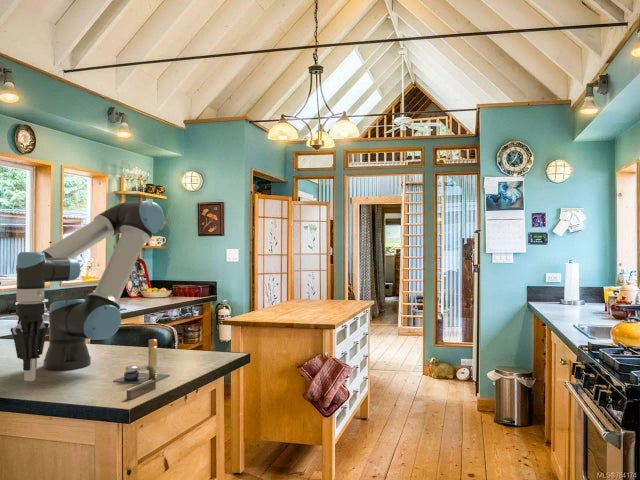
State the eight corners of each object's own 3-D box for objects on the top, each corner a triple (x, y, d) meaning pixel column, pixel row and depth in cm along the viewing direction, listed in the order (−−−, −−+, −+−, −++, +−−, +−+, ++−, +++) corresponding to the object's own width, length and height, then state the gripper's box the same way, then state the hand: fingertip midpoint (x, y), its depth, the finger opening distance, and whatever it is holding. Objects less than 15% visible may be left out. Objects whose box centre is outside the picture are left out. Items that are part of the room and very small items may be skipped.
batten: (126, 399, 150) (126, 389, 150) (150, 388, 161) (150, 379, 161) (131, 399, 149) (131, 390, 149) (155, 388, 161) (155, 379, 161)
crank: (126, 373, 169) (126, 342, 169) (124, 371, 172) (124, 341, 172) (158, 370, 173) (158, 340, 174) (155, 367, 177) (155, 338, 177)
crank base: (113, 381, 169) (113, 348, 169) (134, 373, 180) (134, 342, 181) (150, 384, 166) (150, 350, 166) (169, 375, 177) (170, 343, 177)
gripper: (23, 305, 158) (23, 386, 158) (56, 300, 171) (55, 376, 170) (2, 304, 160) (2, 384, 160) (36, 300, 173) (35, 374, 172)
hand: (29, 380), depth 165 cm, fingers closed
